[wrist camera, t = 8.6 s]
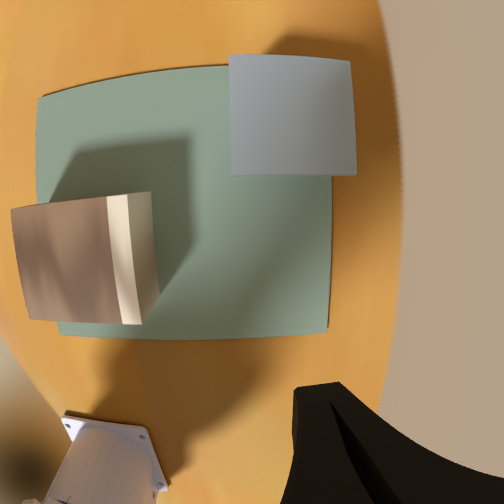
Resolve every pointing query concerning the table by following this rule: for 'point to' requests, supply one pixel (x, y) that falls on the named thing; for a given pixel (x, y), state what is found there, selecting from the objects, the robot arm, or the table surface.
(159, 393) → the table surface
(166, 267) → the felt mat
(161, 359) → the table surface
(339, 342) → the table surface
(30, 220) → the walnut block
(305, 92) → the gray block
